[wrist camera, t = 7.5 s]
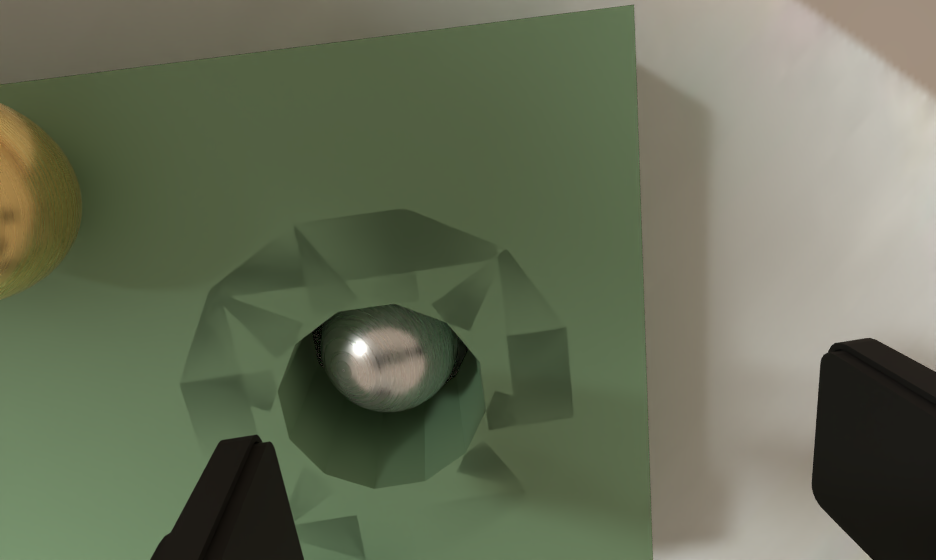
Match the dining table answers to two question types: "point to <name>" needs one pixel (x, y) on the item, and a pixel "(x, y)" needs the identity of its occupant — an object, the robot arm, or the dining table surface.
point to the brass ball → (33, 203)
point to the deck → (343, 296)
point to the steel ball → (387, 356)
